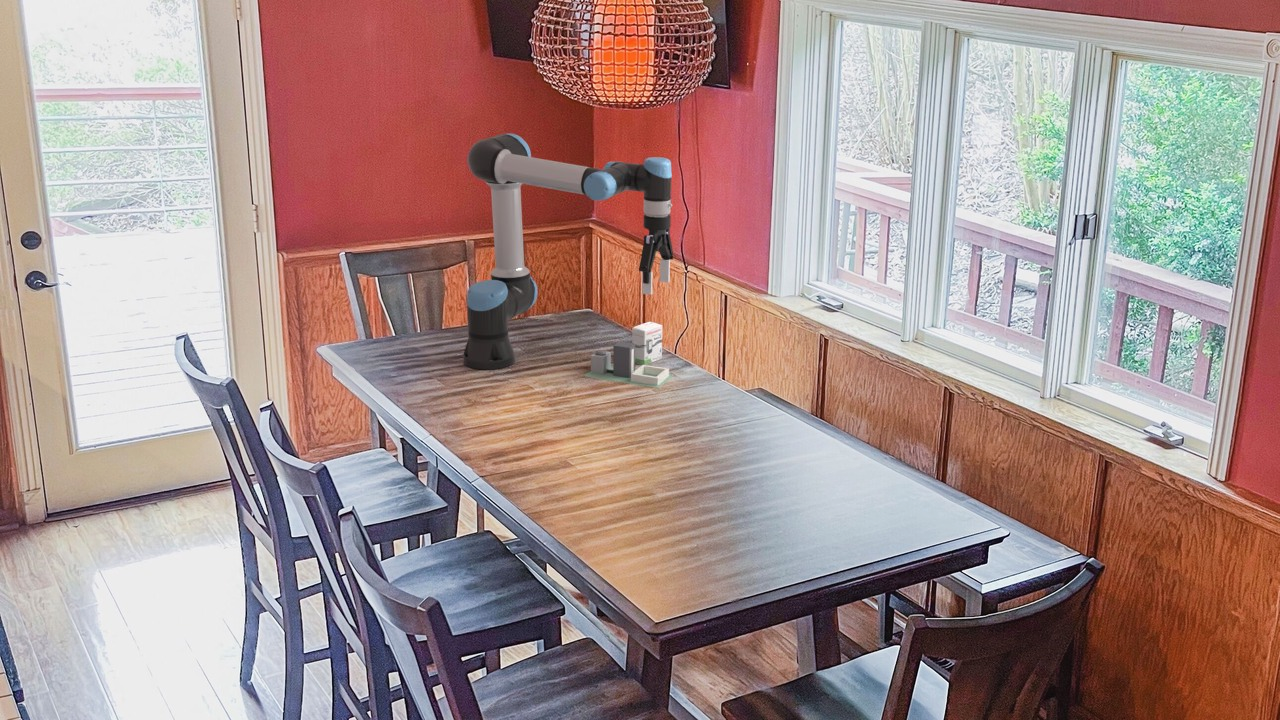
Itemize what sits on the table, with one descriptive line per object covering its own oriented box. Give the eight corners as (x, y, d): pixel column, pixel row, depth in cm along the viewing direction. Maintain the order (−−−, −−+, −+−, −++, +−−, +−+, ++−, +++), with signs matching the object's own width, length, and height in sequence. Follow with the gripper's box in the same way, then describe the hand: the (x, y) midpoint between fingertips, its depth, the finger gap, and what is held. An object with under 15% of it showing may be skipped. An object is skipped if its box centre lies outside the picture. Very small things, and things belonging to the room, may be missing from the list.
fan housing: (590, 371, 358) (590, 353, 356) (598, 366, 362) (598, 348, 360) (610, 375, 355) (610, 356, 354) (617, 369, 360) (617, 351, 358)
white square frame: (630, 381, 351) (630, 374, 350) (643, 371, 359) (643, 364, 358) (657, 385, 348) (657, 378, 347) (669, 375, 356) (669, 368, 355)
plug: (613, 375, 355) (613, 345, 352) (618, 371, 359) (619, 341, 356) (629, 378, 353) (629, 348, 350) (635, 373, 357) (635, 343, 354)
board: (583, 380, 355) (583, 376, 354) (601, 367, 365) (601, 363, 365) (658, 392, 346) (658, 388, 346) (674, 378, 357) (674, 374, 356)
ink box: (644, 369, 364) (644, 330, 360) (631, 365, 367) (631, 327, 363) (662, 362, 370) (663, 324, 366) (649, 358, 373) (650, 320, 369)
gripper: (653, 224, 334) (652, 300, 341) (685, 206, 355) (683, 278, 363) (627, 222, 336) (626, 297, 343) (660, 204, 358) (659, 275, 365)
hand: (656, 288), depth 353 cm, fingers open, 13 cm apart
